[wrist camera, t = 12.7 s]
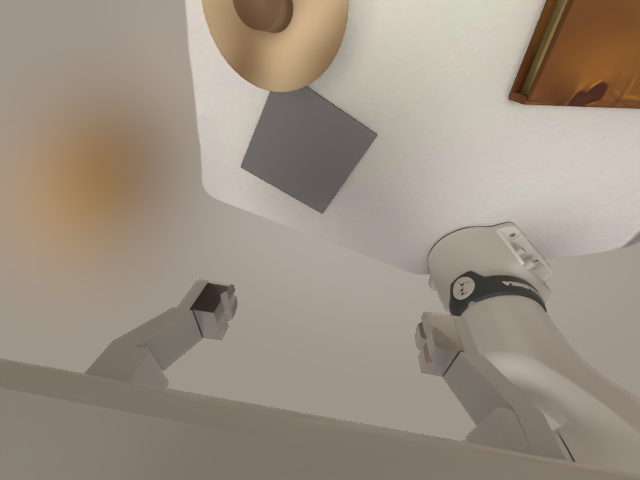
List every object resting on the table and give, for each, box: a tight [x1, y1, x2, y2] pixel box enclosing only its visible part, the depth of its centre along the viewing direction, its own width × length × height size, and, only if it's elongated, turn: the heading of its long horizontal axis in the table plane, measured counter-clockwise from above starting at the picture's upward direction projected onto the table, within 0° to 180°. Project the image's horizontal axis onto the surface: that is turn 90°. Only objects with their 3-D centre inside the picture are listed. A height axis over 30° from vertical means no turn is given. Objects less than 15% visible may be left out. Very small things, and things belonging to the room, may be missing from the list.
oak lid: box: [202, 0, 349, 92], centre depth 18 cm, size 11×11×5 cm
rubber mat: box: [241, 86, 377, 213], centre depth 41 cm, size 16×16×1 cm
